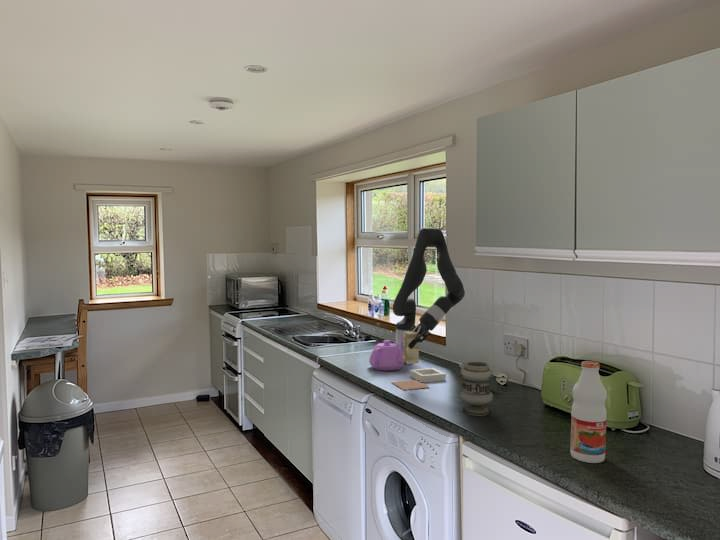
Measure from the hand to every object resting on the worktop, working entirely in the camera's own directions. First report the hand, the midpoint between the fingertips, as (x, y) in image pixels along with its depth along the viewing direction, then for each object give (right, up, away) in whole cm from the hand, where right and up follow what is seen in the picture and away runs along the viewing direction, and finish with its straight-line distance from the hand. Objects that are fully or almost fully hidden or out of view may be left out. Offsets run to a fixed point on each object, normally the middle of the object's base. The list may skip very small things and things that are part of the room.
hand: (406, 346), depth 233 cm
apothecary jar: (+23, -20, -33) cm, 45 cm away
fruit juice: (+46, -22, -75) cm, 91 cm away
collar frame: (+11, -17, +14) cm, 25 cm away
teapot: (-5, -16, +32) cm, 36 cm away
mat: (+2, -17, +2) cm, 18 cm away
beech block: (+2, -7, +1) cm, 7 cm away
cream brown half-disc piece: (+28, -18, +2) cm, 33 cm away
